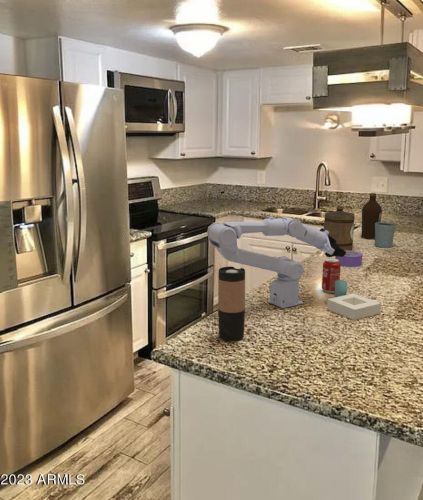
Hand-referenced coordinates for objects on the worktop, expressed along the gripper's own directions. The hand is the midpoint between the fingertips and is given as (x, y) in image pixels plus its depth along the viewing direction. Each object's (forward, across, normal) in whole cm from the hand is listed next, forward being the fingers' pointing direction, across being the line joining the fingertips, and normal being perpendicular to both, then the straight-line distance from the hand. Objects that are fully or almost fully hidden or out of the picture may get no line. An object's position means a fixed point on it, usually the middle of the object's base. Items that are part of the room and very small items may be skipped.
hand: (339, 248), depth 178 cm
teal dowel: (+4, -11, +14) cm, 18 cm away
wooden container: (+50, +59, +19) cm, 79 cm away
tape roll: (+37, +32, +15) cm, 52 cm away
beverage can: (+8, -1, +16) cm, 18 cm away
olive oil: (+81, +78, +11) cm, 113 cm away
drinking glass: (+73, +58, +7) cm, 94 cm away
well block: (+2, -21, +11) cm, 24 cm away
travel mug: (-40, -31, +28) cm, 58 cm away
